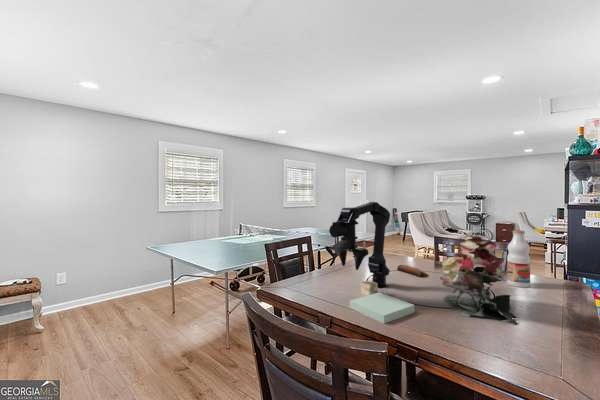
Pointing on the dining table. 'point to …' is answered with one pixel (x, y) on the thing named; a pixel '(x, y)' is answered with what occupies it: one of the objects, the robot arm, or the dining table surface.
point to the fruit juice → (518, 261)
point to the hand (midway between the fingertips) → (350, 267)
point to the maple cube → (369, 288)
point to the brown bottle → (412, 270)
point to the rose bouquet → (476, 279)
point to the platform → (382, 307)
